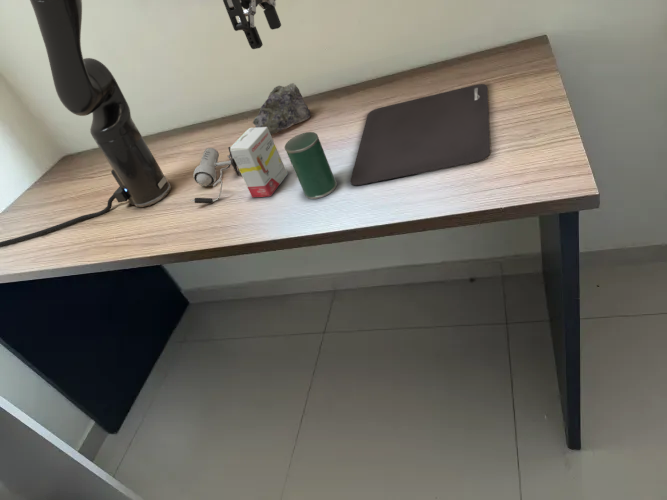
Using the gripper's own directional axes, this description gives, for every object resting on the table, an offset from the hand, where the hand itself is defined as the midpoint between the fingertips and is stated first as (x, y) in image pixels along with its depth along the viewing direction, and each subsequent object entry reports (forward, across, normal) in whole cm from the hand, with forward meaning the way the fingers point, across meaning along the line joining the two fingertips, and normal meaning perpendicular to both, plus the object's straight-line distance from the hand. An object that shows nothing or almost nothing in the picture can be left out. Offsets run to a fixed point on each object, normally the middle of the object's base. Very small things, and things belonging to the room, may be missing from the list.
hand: (267, 37), depth 119 cm
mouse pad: (+28, -8, +21) cm, 36 cm away
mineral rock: (+29, -20, -17) cm, 39 cm away
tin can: (+28, +9, +4) cm, 30 cm away
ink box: (+29, +6, -9) cm, 31 cm away
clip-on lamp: (+29, +3, -23) cm, 37 cm away
